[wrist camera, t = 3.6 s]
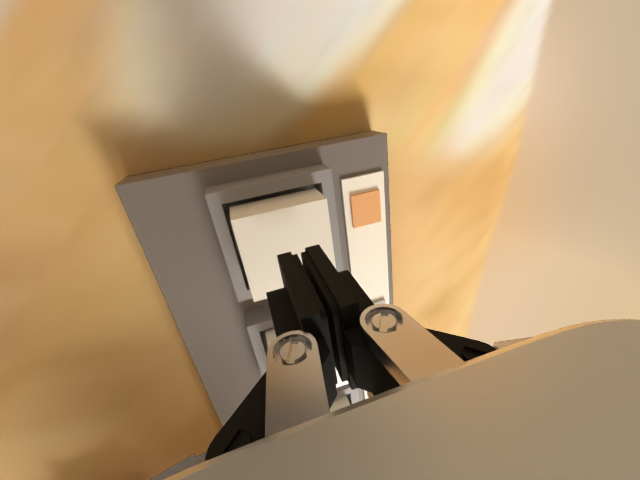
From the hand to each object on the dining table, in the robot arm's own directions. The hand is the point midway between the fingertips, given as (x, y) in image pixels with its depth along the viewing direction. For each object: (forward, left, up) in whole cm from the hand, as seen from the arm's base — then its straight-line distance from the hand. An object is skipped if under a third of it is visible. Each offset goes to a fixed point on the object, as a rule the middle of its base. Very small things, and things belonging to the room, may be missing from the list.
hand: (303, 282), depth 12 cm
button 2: (0, 0, -5) cm, 5 cm away
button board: (-8, 0, -8) cm, 11 cm away
